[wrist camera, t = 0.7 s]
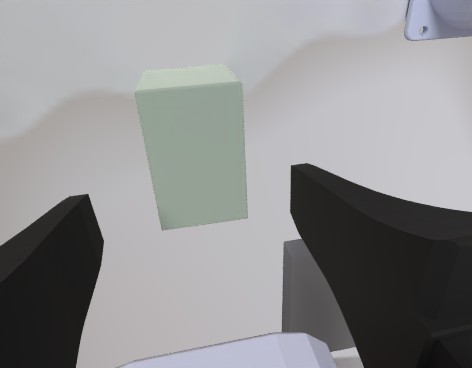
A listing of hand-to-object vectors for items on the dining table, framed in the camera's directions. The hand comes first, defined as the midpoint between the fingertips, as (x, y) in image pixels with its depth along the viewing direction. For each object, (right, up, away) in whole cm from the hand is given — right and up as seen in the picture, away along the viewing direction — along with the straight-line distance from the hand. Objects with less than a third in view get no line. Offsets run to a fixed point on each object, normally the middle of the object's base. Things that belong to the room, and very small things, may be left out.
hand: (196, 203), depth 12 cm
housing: (-1, +4, +8) cm, 10 cm away
